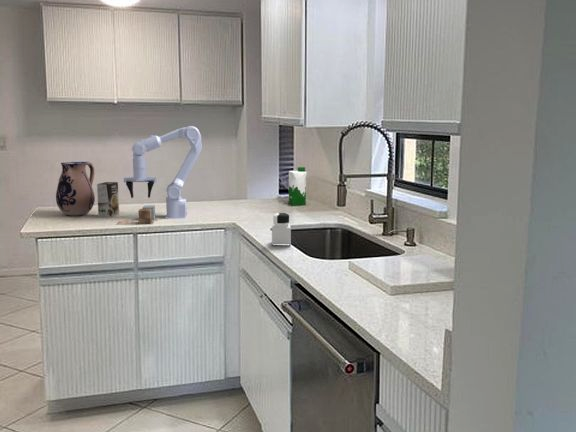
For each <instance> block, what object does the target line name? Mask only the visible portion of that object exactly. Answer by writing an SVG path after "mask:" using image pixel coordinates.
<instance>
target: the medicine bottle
mask: <svg viewBox="0 0 576 432" xmlns="http://www.w3.org/2000/svg"><path fill="white" fill-rule="evenodd" d="M291 239H292V229H291V224H290V215H289V214H288V213H286V212H277V213H274V214H273V223H272V224H271V245H272V244H289V245H292V241H291Z"/></svg>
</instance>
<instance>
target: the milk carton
mask: <svg viewBox="0 0 576 432" xmlns="http://www.w3.org/2000/svg"><path fill="white" fill-rule="evenodd" d="M307 176H308V171H306V167H304V166H298V167H297V170H288V204H289V205H291V206H292V207H296V206H297V207H299V206H306V203H307Z"/></svg>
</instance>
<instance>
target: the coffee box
mask: <svg viewBox="0 0 576 432" xmlns="http://www.w3.org/2000/svg"><path fill="white" fill-rule="evenodd" d="M96 189H97V192H96V193H97V211H98V213H97V214H98V215H97V217H98V218H105V219H106V218H107V219H111V218H114V217H117V216H120V203H119V200H120V199H119V182H118V181H105V182H100V183H97V184H96Z"/></svg>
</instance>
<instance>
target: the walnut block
mask: <svg viewBox="0 0 576 432" xmlns="http://www.w3.org/2000/svg"><path fill="white" fill-rule="evenodd" d="M138 222H139V224H146V225H152V224H151V222H152V211H151V209H142V208H139V210H138Z"/></svg>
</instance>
